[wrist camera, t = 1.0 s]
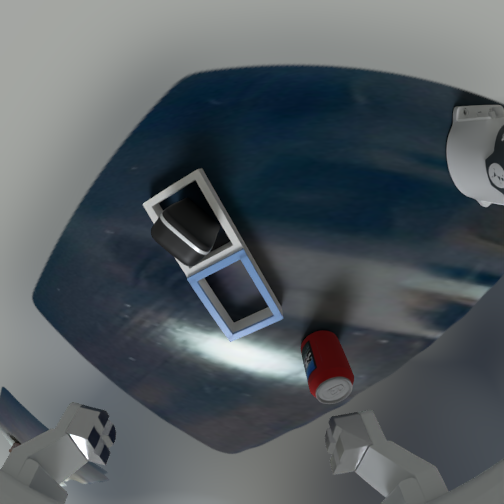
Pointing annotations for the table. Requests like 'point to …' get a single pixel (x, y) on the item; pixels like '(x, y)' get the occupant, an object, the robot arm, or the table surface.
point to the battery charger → (185, 232)
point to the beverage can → (326, 367)
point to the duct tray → (221, 263)
